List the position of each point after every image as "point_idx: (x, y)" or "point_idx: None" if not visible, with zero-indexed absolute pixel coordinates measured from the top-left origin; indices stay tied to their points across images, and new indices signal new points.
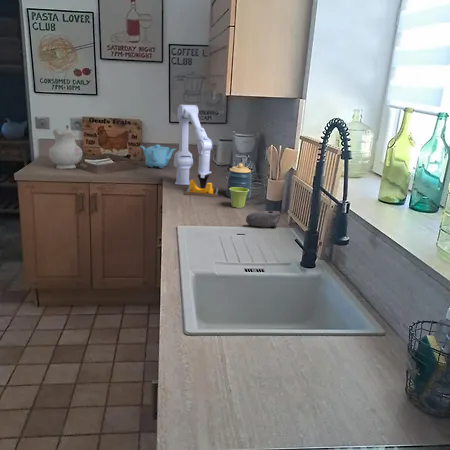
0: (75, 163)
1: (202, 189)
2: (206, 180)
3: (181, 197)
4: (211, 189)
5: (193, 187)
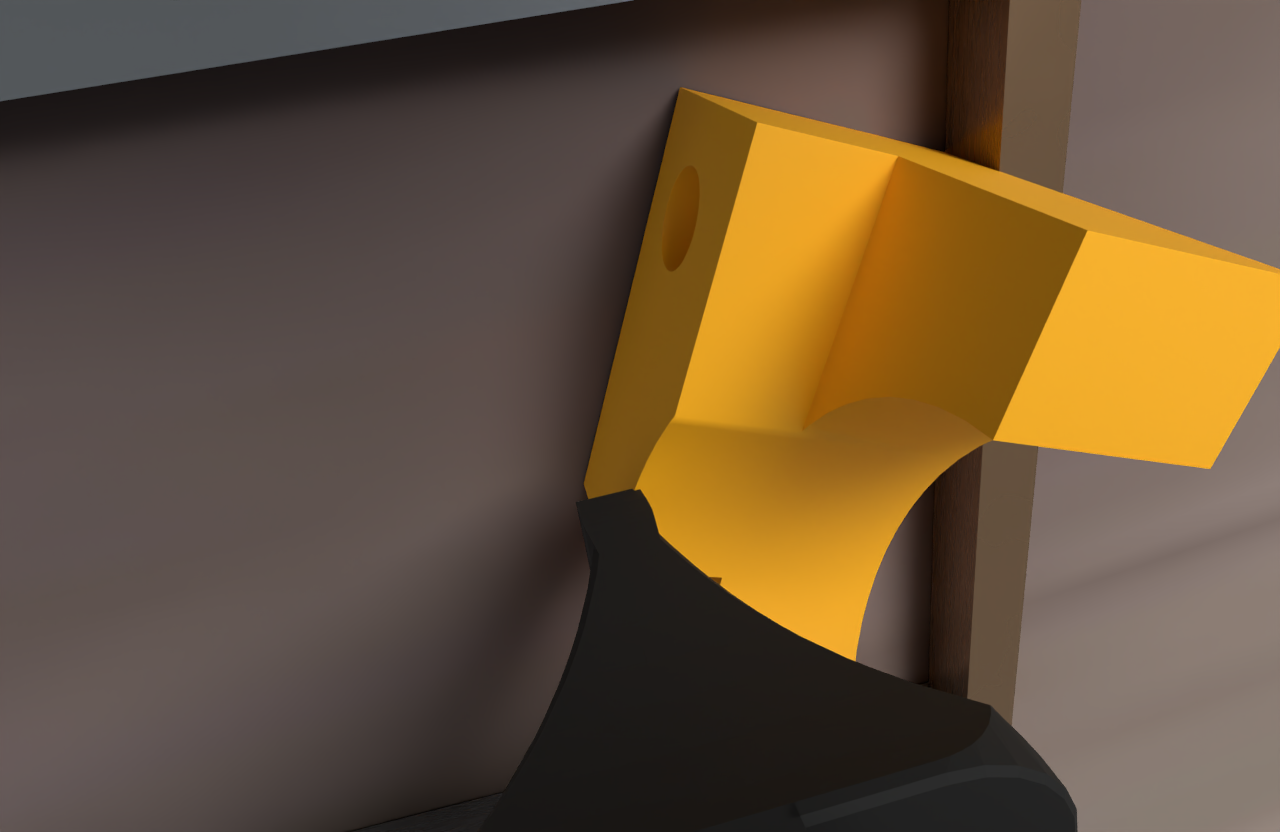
0: None
1: (818, 504)
2: (833, 656)
3: (1189, 693)
4: (947, 165)
5: None
